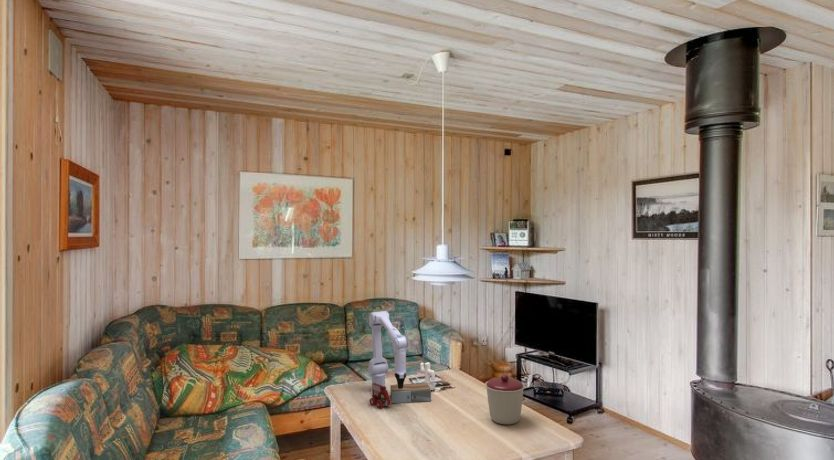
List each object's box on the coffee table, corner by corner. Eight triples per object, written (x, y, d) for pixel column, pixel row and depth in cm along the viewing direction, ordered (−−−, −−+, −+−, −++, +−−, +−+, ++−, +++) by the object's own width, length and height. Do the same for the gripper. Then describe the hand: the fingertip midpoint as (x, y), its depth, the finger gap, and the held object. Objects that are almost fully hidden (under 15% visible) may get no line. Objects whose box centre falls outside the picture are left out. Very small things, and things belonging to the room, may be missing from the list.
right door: (391, 402, 237) (391, 391, 237) (411, 401, 238) (410, 390, 238) (392, 404, 235) (392, 393, 235) (411, 402, 236) (411, 391, 236)
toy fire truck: (383, 411, 227) (382, 389, 227) (367, 404, 236) (367, 384, 236) (393, 407, 232) (393, 386, 232) (377, 400, 240) (377, 380, 240)
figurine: (430, 393, 250) (430, 365, 250) (416, 390, 256) (416, 362, 256) (438, 390, 256) (438, 362, 256) (425, 386, 262) (424, 360, 262)
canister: (478, 415, 220) (478, 371, 220) (512, 410, 226) (511, 367, 226) (497, 431, 203) (496, 382, 203) (533, 425, 208) (532, 378, 209)
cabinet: (390, 396, 247) (390, 384, 247) (427, 393, 250) (427, 382, 250) (392, 404, 235) (392, 392, 235) (431, 402, 238) (431, 390, 238)
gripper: (391, 357, 240) (391, 383, 240) (393, 365, 225) (393, 393, 225) (404, 357, 240) (404, 383, 240) (407, 365, 226) (408, 392, 226)
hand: (400, 388), depth 233 cm, fingers closed
